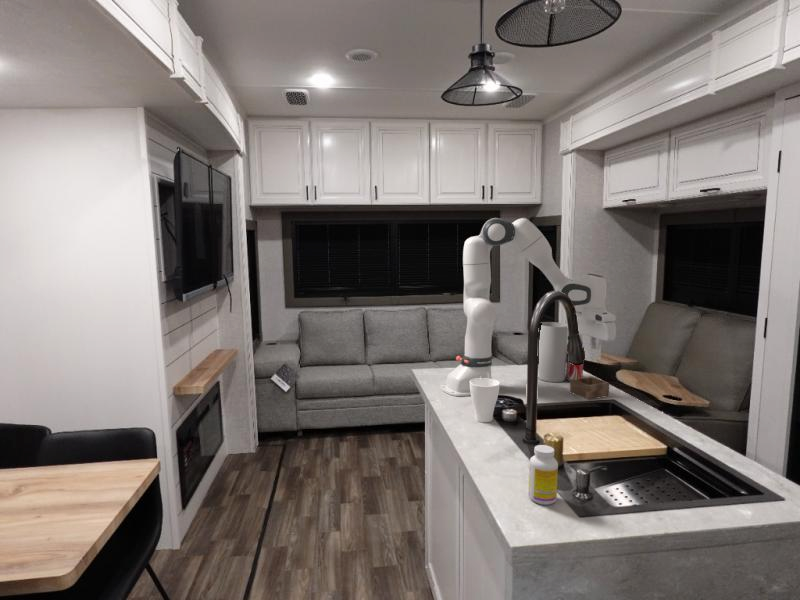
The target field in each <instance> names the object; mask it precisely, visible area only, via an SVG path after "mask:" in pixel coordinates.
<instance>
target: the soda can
mask: <svg viewBox="0 0 800 600" xmlns="http://www.w3.org/2000/svg"><path fill="white" fill-rule="evenodd" d="M583 373H584V363H583V364H581V365H572V364H570V363H569V362H568V361H567V360H566V376H565V380H567V381H568V382H570V380H571V379H577V378H584V377H583V376H584V374H583Z"/></svg>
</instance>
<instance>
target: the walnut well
mask: <svg viewBox="0 0 800 600" xmlns="http://www.w3.org/2000/svg"><path fill="white" fill-rule="evenodd" d="M569 382H570V383H569V384H570V385H569V393H570V392H571V394H573V393H574V394H573V395H575V394H576V396H578V395H579V396H578V397H580V396H581V398H583V397H584V398H583V399H585V398H586V399H587V400H593V398H594V399H599V398H598V397H600V398H604V397H603V396H606V397H609V396H610V395H609V393H610V382H608V381H605V380H602V379H599V378H596V377H593V376H586V377H582V378H577V379H571V380H570V381H569Z"/></svg>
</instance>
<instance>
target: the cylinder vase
mask: <svg viewBox="0 0 800 600" xmlns="http://www.w3.org/2000/svg"><path fill="white" fill-rule="evenodd" d="M541 323H542V325H541V330H540V340H539V379H538V380H540V381H543V382H549V383H560V382H563V381H565V380H566V363H567V354H568V334H569V333H568V331H569V327H568V328H567V325H568V324H567V323H564V322H555V321H545V322H544V321H542V322H541Z"/></svg>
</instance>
